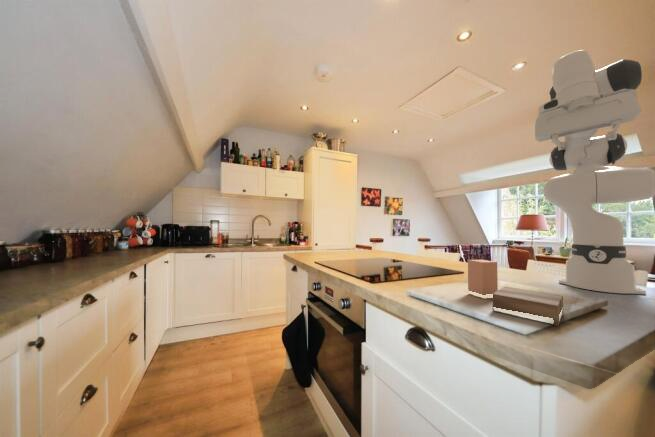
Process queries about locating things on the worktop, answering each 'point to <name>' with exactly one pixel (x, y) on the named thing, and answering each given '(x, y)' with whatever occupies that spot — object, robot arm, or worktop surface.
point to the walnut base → (529, 302)
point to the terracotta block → (482, 276)
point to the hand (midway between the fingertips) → (586, 144)
